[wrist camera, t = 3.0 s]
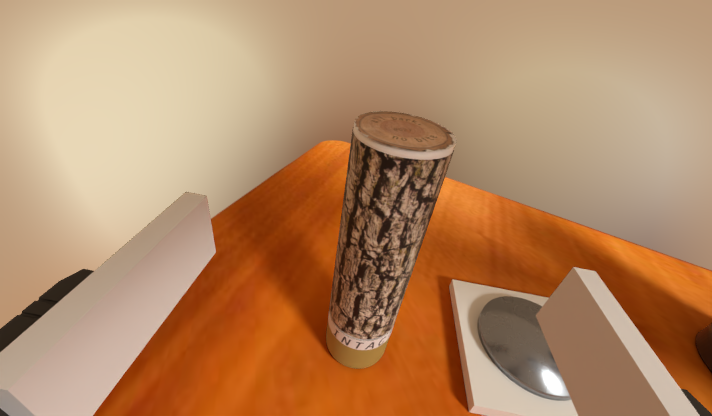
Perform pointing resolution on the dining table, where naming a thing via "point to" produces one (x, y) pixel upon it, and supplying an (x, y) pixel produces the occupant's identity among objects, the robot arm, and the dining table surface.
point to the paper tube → (382, 227)
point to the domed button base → (506, 353)
